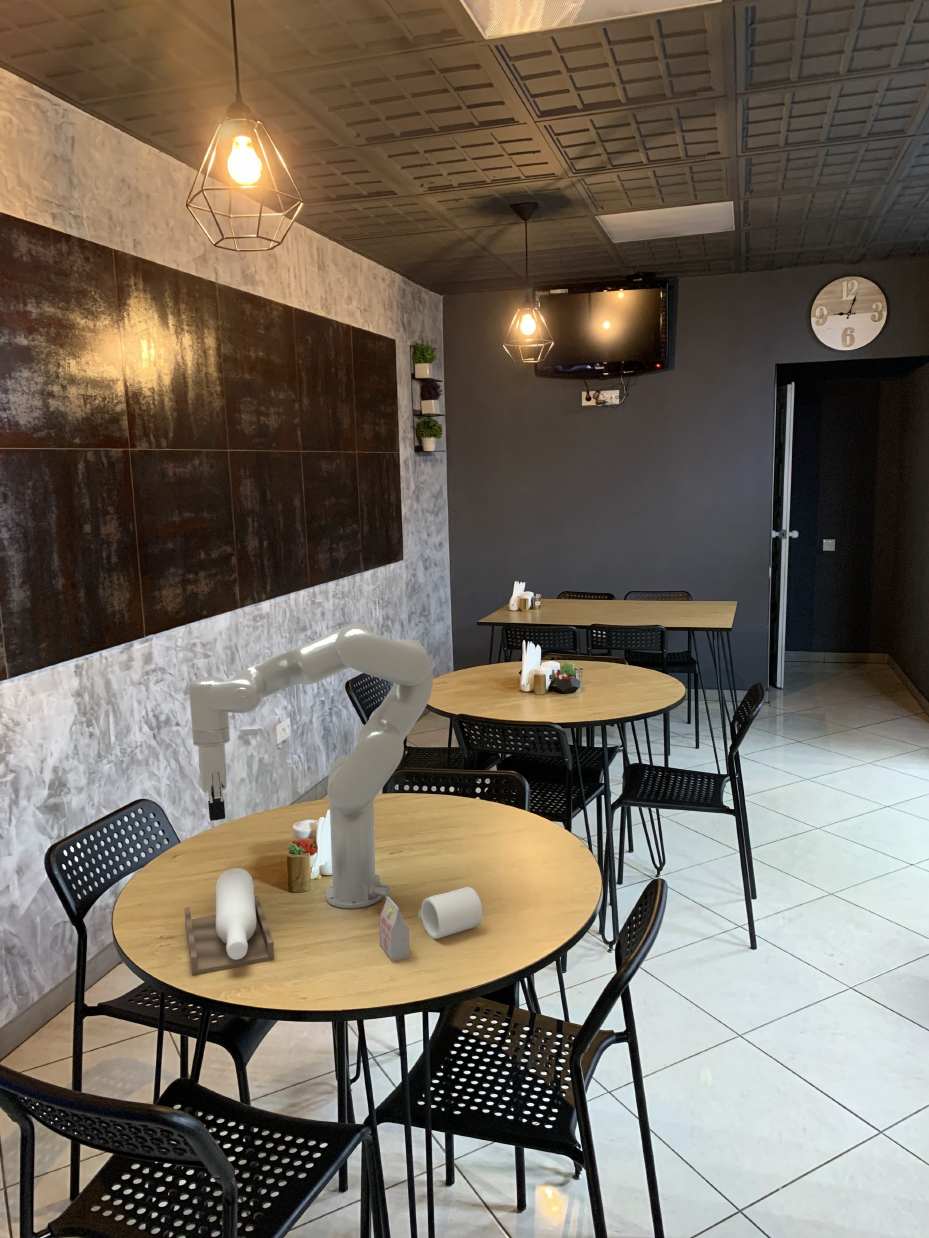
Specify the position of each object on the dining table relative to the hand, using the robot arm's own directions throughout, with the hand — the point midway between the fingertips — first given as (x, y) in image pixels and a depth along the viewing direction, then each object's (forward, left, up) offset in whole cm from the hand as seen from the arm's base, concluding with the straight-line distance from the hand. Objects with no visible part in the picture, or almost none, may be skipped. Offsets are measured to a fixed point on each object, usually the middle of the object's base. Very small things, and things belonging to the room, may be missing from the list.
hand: (217, 818), depth 189 cm
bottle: (-3, -1, -15) cm, 15 cm away
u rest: (-12, +12, -20) cm, 26 cm away
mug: (-50, -10, -20) cm, 54 cm away
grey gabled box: (-44, +3, -20) cm, 49 cm away
